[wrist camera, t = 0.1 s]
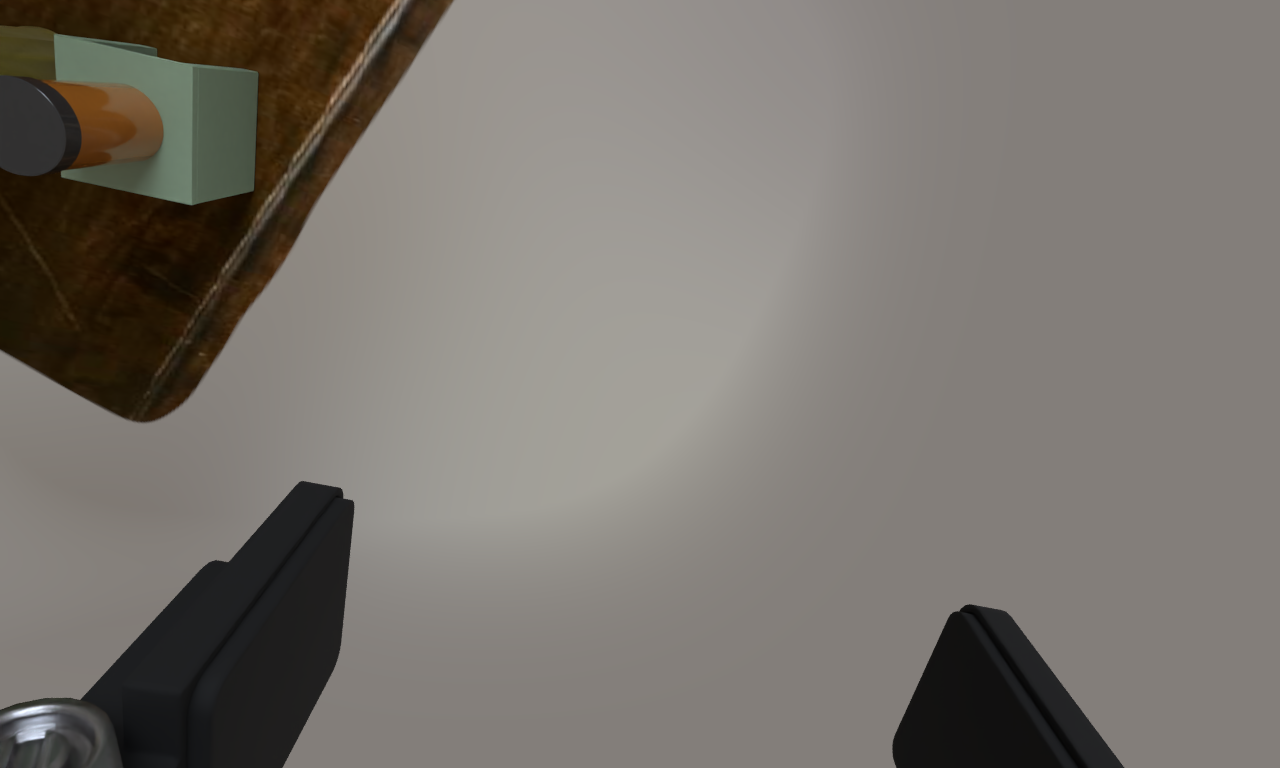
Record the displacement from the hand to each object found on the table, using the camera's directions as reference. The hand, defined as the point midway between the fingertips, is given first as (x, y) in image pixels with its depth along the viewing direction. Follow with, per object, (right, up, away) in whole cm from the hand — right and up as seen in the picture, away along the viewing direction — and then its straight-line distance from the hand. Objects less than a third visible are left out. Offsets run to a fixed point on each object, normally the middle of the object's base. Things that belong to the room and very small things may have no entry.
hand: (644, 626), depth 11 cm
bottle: (-30, +19, +32) cm, 48 cm away
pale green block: (-30, +22, +39) cm, 54 cm away
